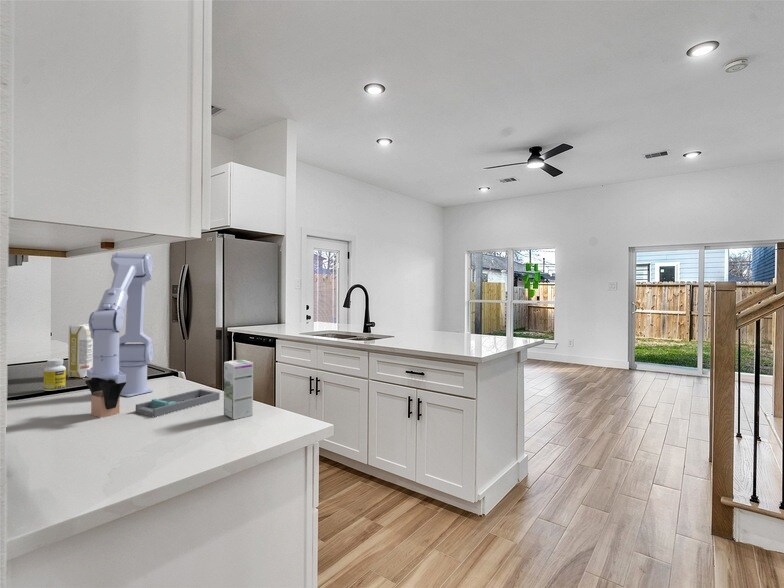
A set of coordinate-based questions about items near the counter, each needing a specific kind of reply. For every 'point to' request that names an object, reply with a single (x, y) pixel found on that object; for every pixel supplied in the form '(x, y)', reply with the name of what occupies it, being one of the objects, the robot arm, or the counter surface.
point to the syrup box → (238, 389)
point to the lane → (205, 397)
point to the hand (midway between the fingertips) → (105, 406)
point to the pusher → (160, 403)
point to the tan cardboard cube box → (102, 405)
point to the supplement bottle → (54, 374)
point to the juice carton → (80, 350)
